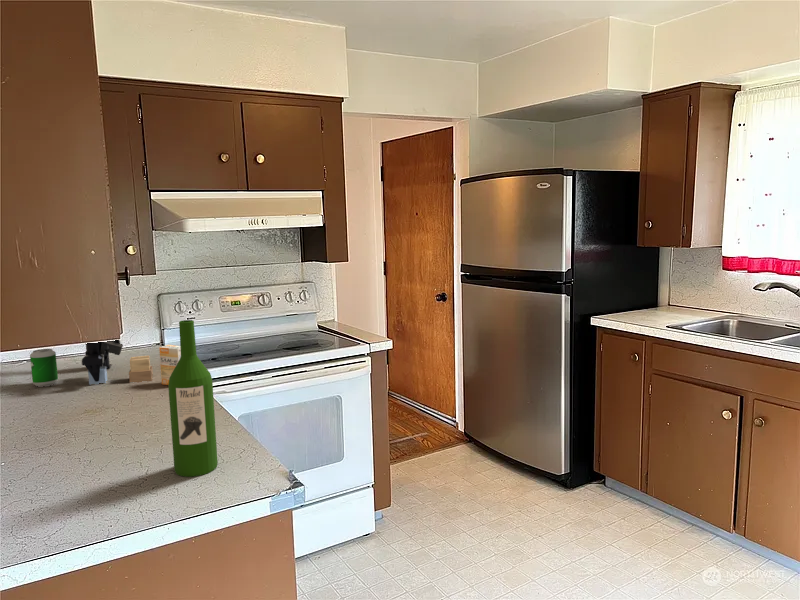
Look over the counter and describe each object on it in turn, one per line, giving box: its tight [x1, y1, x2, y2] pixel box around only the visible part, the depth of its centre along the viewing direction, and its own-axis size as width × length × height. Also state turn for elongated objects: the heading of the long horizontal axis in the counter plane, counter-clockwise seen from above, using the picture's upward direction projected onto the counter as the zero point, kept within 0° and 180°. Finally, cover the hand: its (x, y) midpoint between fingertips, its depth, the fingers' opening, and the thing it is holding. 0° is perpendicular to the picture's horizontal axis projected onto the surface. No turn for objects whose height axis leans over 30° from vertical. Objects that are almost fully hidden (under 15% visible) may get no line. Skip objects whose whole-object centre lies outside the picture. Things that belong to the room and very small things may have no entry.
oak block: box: [129, 355, 151, 372], centre depth 205 cm, size 6×6×4 cm
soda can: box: [29, 348, 59, 388], centre depth 201 cm, size 8×8×12 cm
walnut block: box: [128, 365, 154, 383], centre depth 205 cm, size 7×7×4 cm
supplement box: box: [159, 344, 181, 386], centre depth 198 cm, size 8×5×13 cm, turn 68°
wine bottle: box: [167, 319, 218, 478], centre depth 125 cm, size 9×9×32 cm
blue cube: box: [87, 366, 108, 386], centre depth 203 cm, size 5×5×5 cm
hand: (98, 379), depth 203 cm, fingers closed on blue cube, 5 cm apart
